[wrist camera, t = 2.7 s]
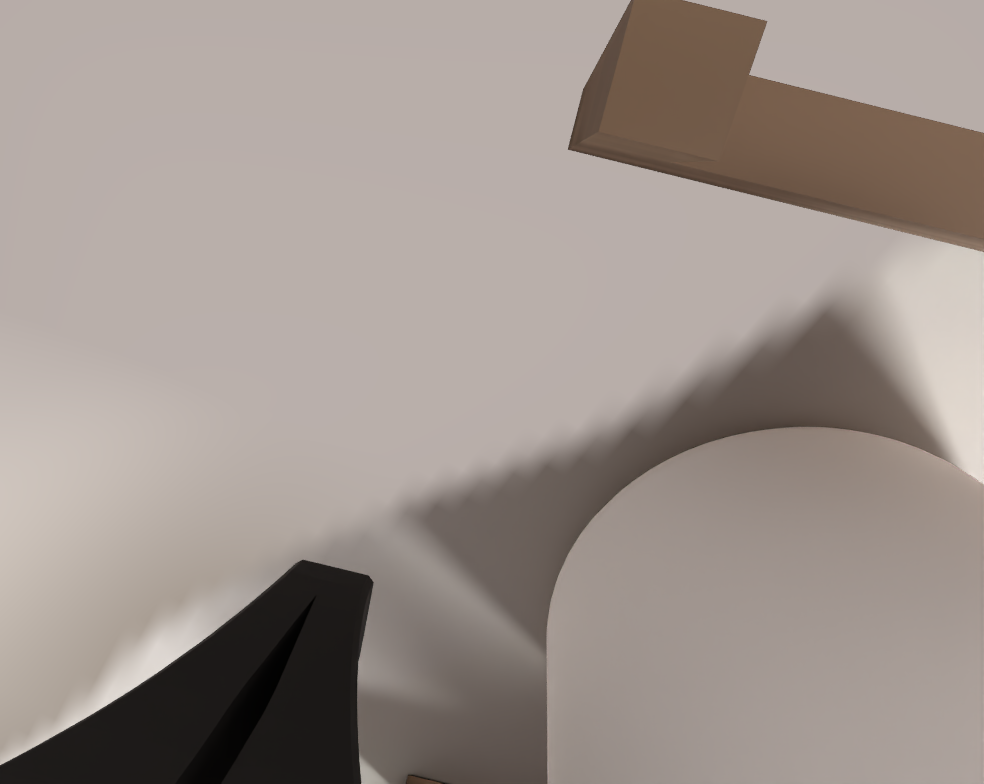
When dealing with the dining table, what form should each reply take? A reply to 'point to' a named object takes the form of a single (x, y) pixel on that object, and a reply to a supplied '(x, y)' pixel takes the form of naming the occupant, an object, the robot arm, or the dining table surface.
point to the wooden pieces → (770, 131)
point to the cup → (774, 620)
